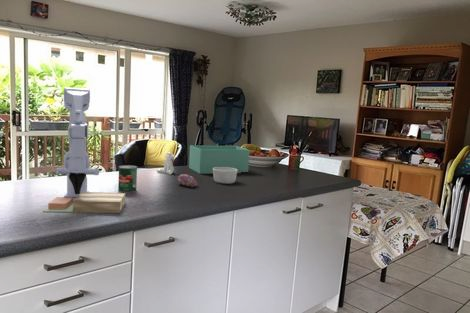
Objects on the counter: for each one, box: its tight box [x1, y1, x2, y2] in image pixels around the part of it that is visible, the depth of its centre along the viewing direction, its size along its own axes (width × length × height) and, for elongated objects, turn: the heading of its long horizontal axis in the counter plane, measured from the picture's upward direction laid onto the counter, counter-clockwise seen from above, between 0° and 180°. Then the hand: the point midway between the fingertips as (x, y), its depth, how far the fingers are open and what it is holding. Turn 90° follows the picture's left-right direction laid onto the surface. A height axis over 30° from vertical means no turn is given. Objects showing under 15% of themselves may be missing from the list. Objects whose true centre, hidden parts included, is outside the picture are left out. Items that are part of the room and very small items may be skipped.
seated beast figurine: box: [156, 151, 176, 175], centre depth 223 cm, size 10×9×12 cm
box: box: [188, 144, 250, 174], centre depth 242 cm, size 21×32×14 cm, turn 114°
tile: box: [47, 196, 74, 209], centre depth 142 cm, size 9×6×2 cm, turn 8°
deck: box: [72, 191, 126, 214], centre depth 144 cm, size 14×16×4 cm
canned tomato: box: [117, 164, 138, 194], centre depth 172 cm, size 8×8×11 cm
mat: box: [42, 203, 74, 213], centre depth 142 cm, size 15×10×1 cm, turn 8°
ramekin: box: [212, 167, 238, 184], centre depth 207 cm, size 13×13×7 cm
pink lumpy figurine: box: [177, 173, 198, 187], centre depth 191 cm, size 10×5×7 cm, turn 59°
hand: (77, 193), depth 143 cm, fingers closed
